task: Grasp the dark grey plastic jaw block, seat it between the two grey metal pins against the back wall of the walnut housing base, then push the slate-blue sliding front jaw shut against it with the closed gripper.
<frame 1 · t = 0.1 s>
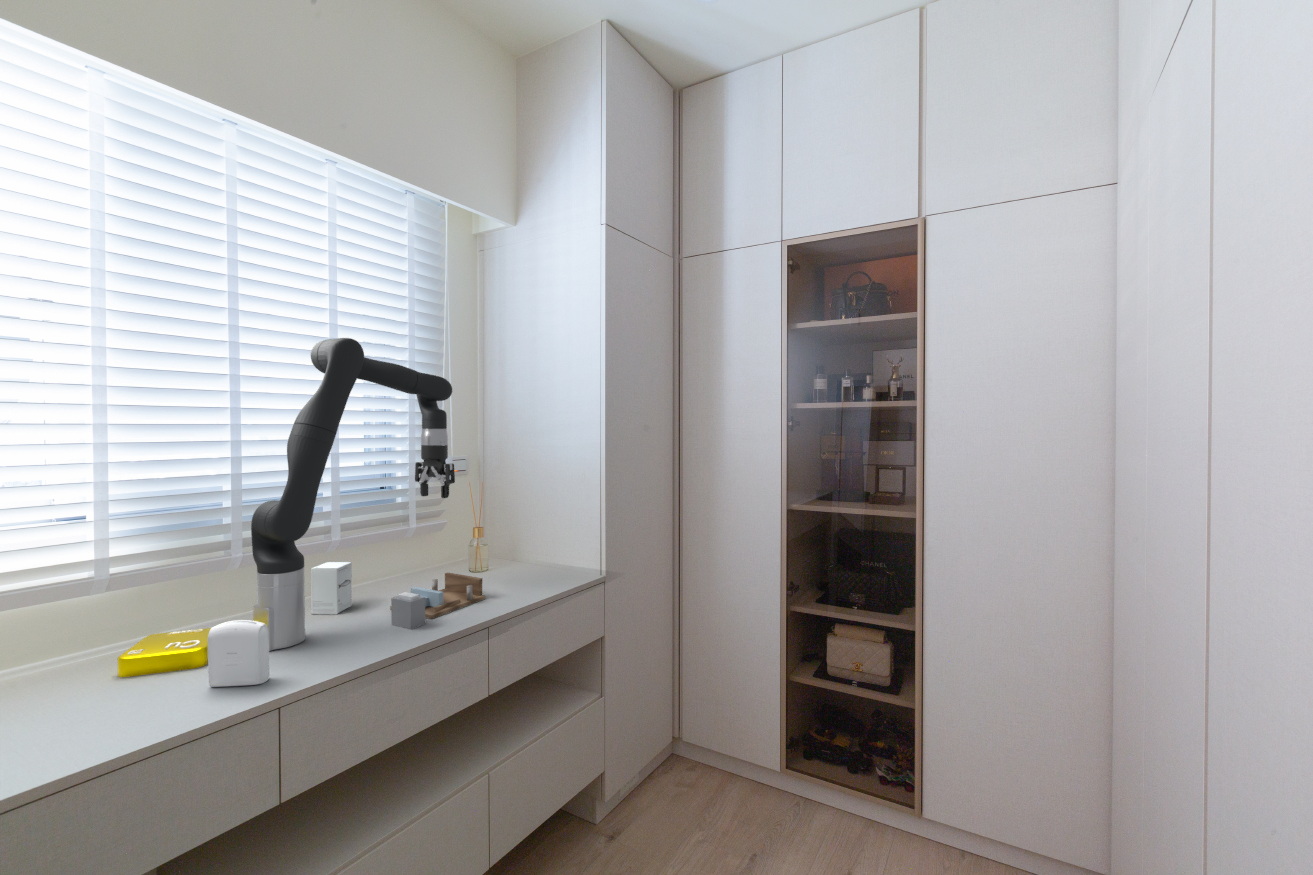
hand: (434, 497, 172), 29 cm above the worktop, fingers open, 8 cm apart
housing: (441, 603, 162), on the worktop
element tile: (175, 661, 123), on the worktop
photo printer: (239, 683, 112), on the worktop
jaw block: (408, 624, 145), on the worktop
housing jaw: (420, 599, 155), point 3 cm above the worktop, slide at 0.0 cm
supplement box: (331, 610, 156), on the worktop
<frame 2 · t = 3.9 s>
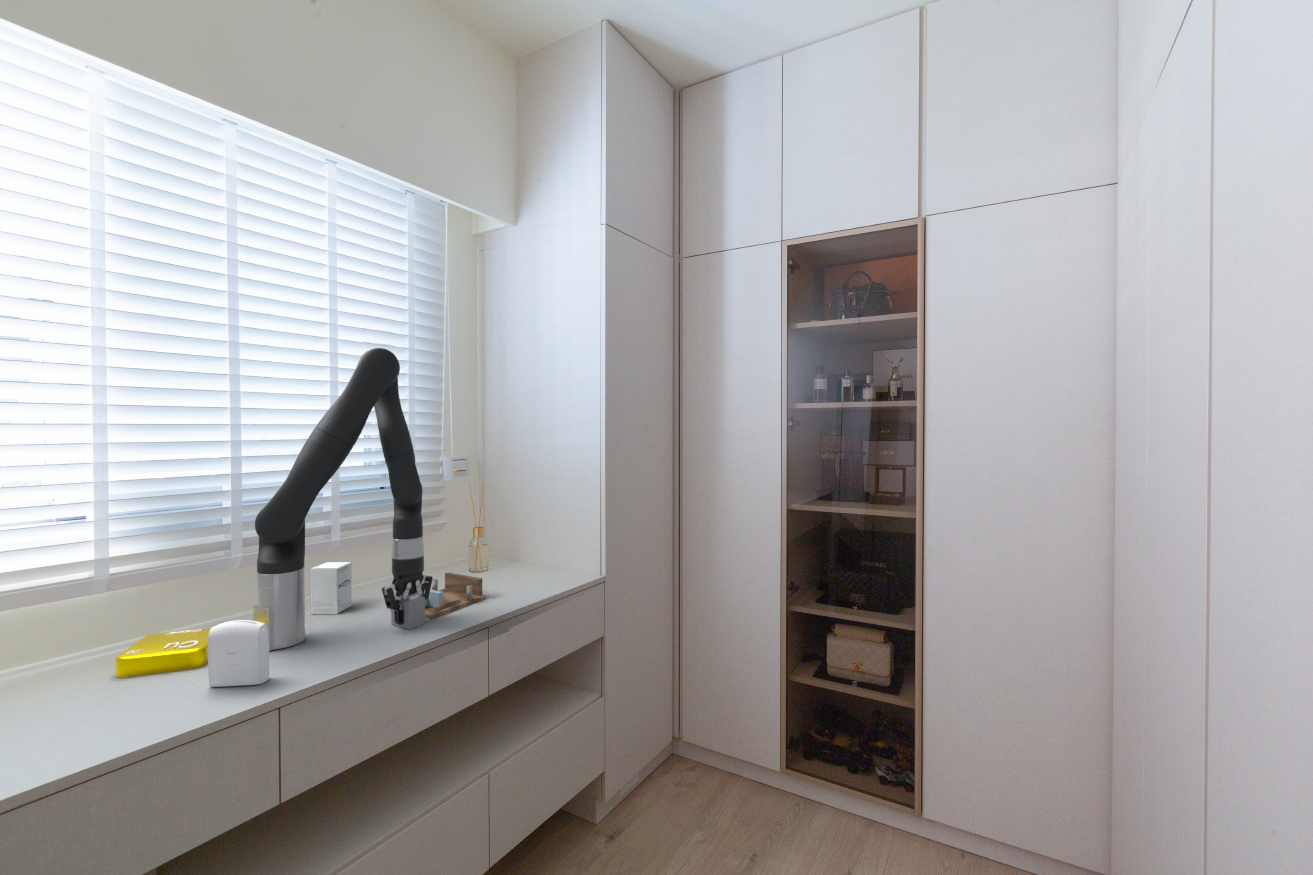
hand: (408, 620, 145), 1 cm above the worktop, fingers closed on jaw block, 4 cm apart
jaw block: (408, 624, 145), on the worktop, touching gripper
everything else where it was.
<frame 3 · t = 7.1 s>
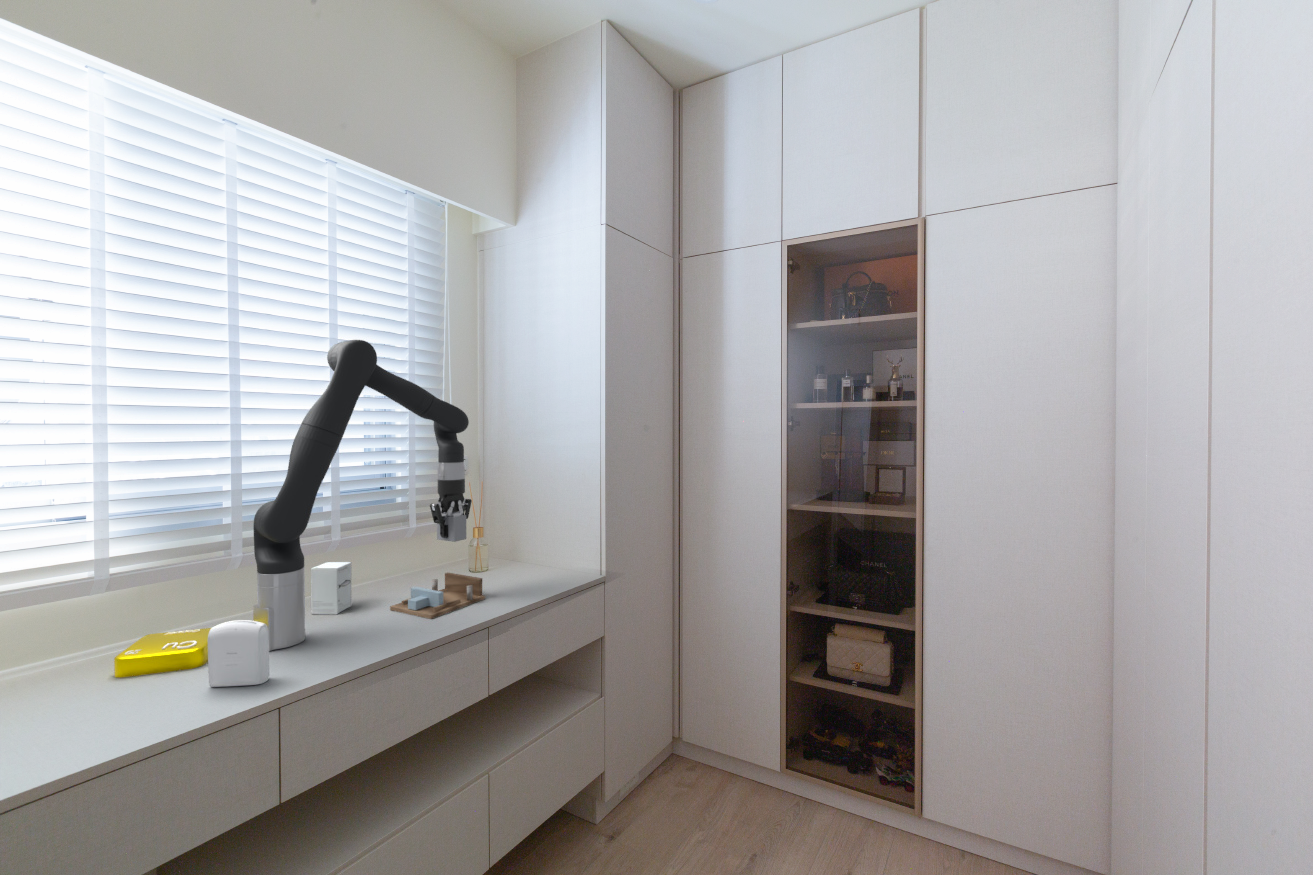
hand: (451, 535, 165), 19 cm above the worktop, fingers closed on jaw block, 4 cm apart
jaw block: (451, 539, 165), point 18 cm above the worktop, touching gripper
everything else where it was.
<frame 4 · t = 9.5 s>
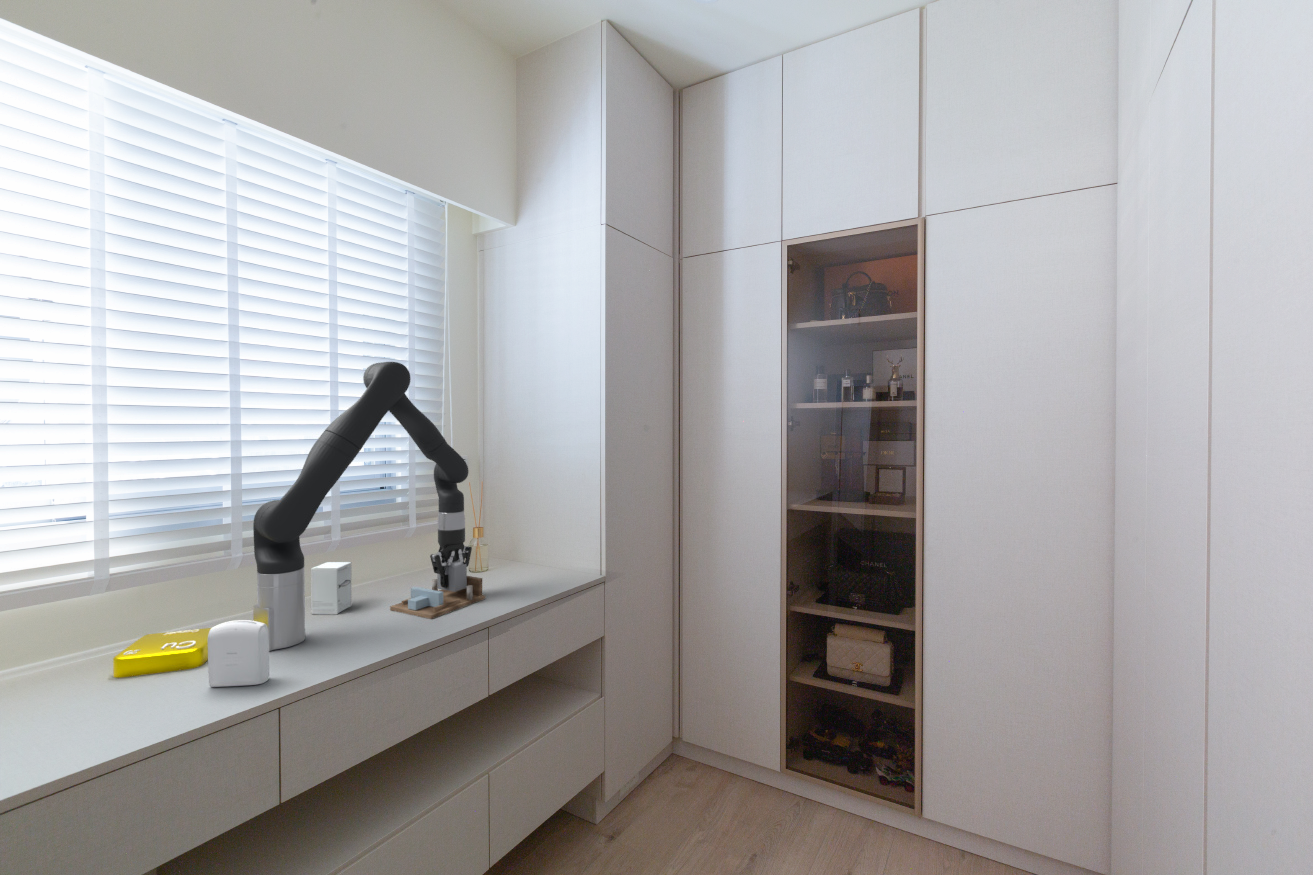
hand: (451, 584, 165), 4 cm above the worktop, fingers closed on jaw block, 4 cm apart
jaw block: (452, 588, 165), point 3 cm above the worktop, touching gripper
everything else where it was.
when the fingers open (4 cm above the worktop, at t = 10.3 s): jaw block drops 2 cm, resting on housing.
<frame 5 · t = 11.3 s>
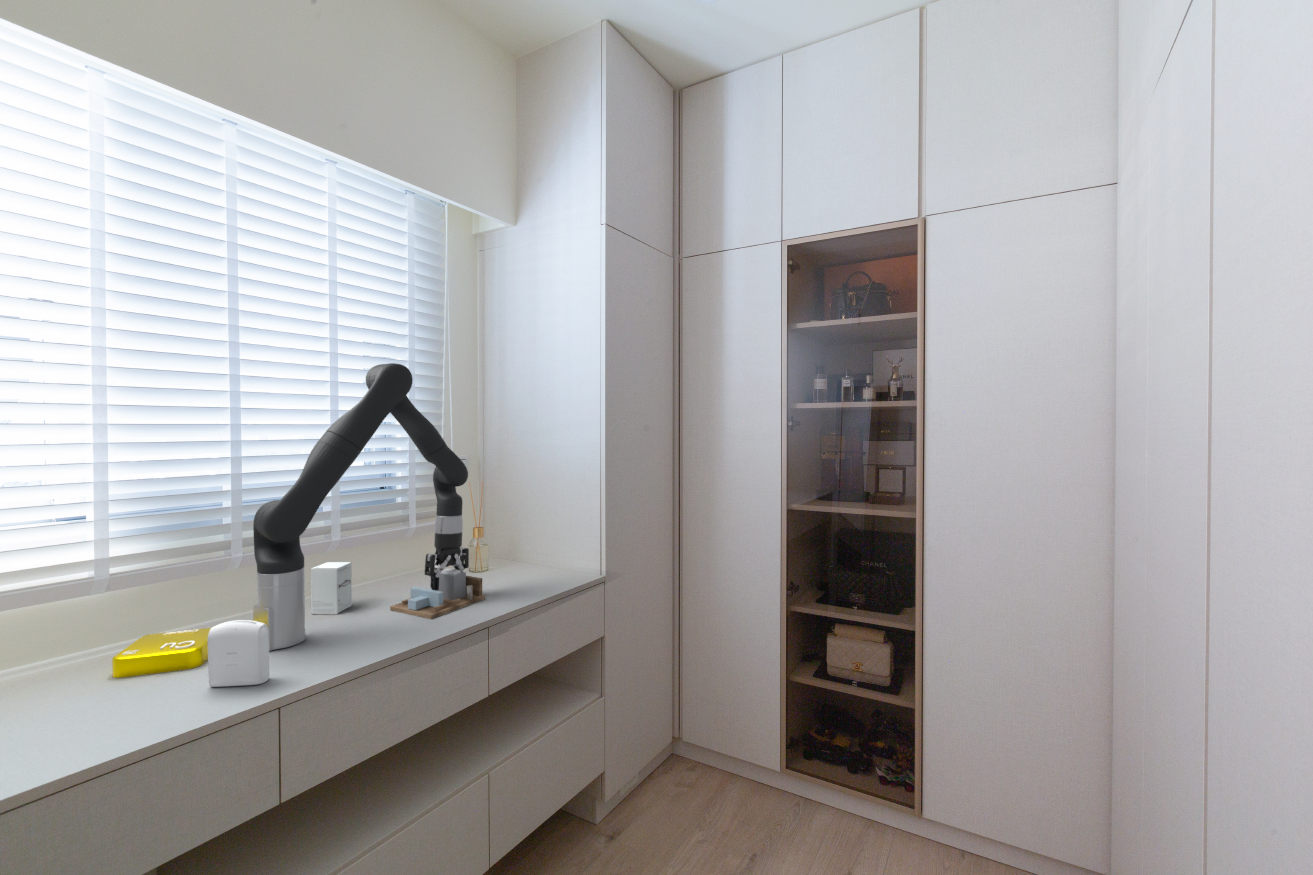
hand: (446, 586, 164), 4 cm above the worktop, fingers open, 8 cm apart
jaw block: (451, 596, 165), point 1 cm above the worktop, touching gripper, housing
everything else where it was.
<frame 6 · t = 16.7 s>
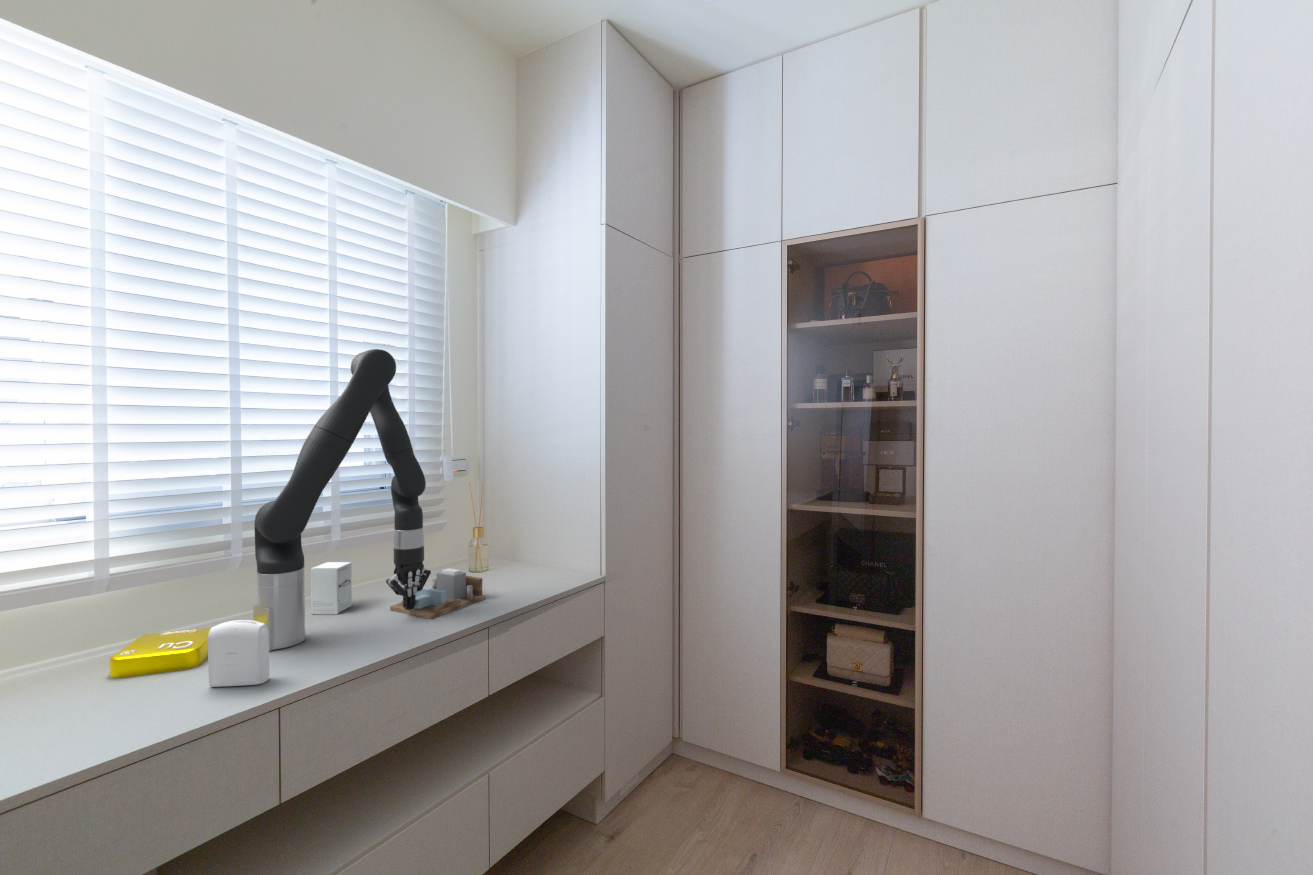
hand: (409, 608, 152), 2 cm above the worktop, fingers closed
jaw block: (451, 596, 165), point 1 cm above the worktop, touching housing
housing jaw: (423, 598, 156), point 3 cm above the worktop, slide at 0.9 cm, touching gripper
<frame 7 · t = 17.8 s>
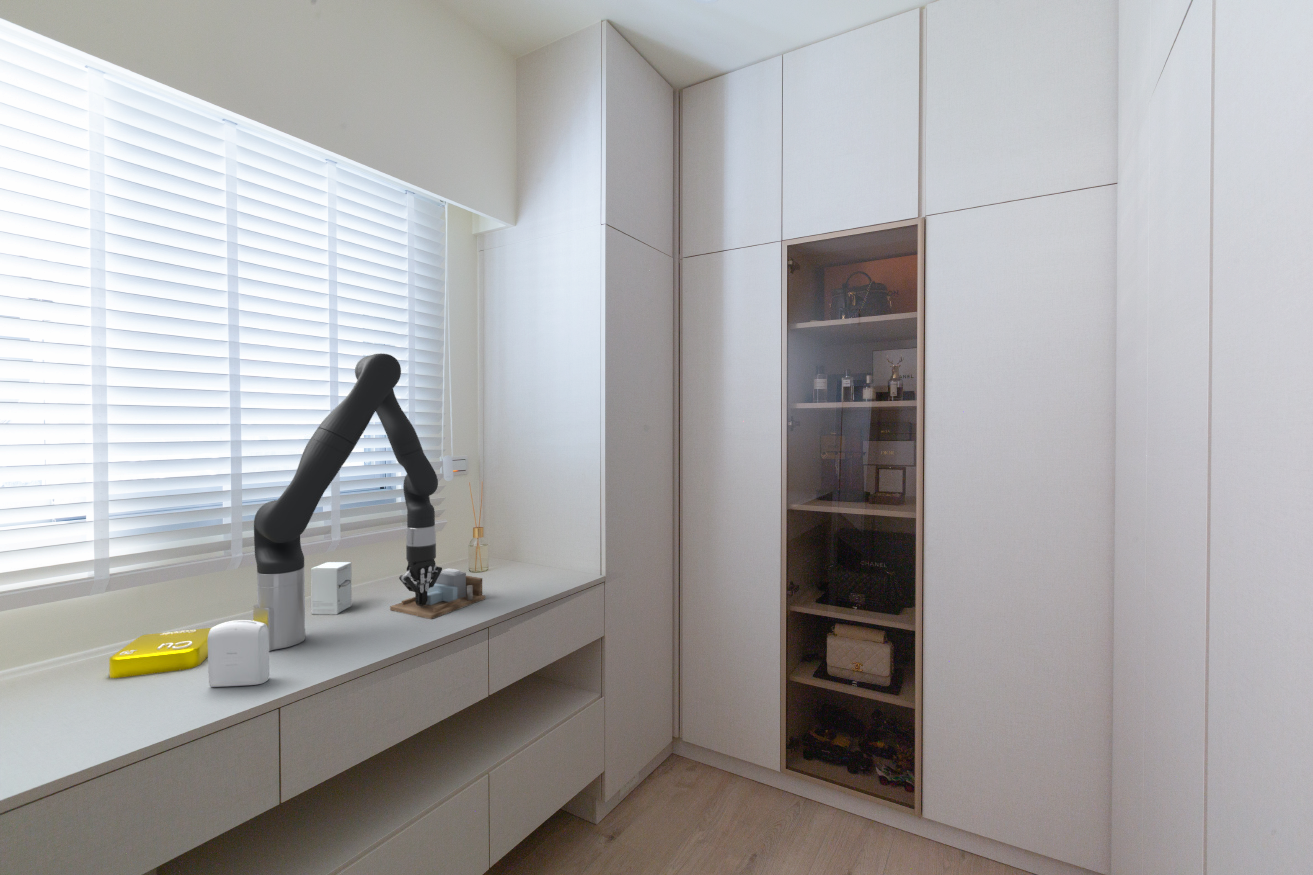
hand: (421, 604, 156), 2 cm above the worktop, fingers closed
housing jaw: (435, 594, 160), point 3 cm above the worktop, slide at 5.0 cm, touching gripper
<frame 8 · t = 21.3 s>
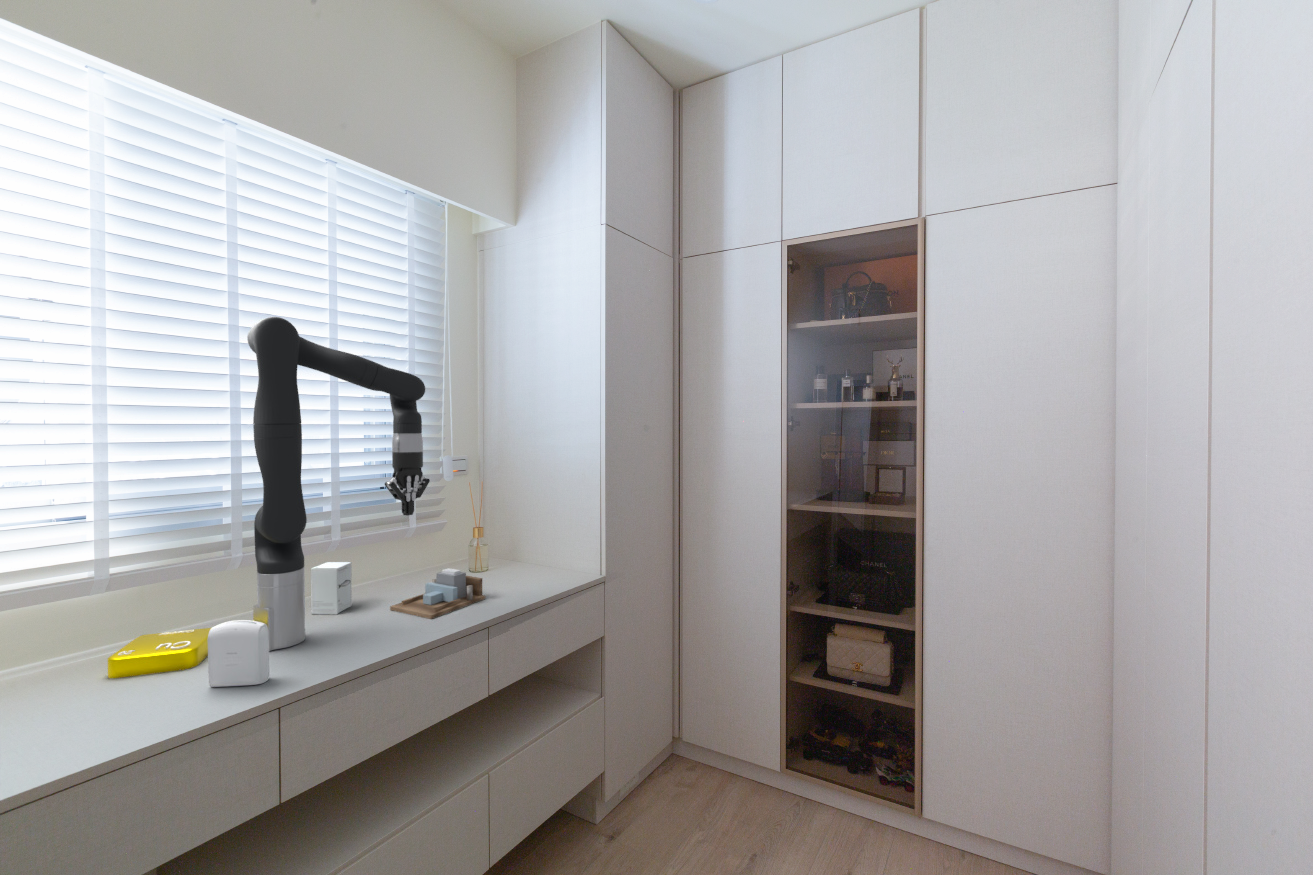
hand: (408, 514, 151), 27 cm above the worktop, fingers closed
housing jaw: (435, 594, 160), point 3 cm above the worktop, slide at 5.0 cm
at the end: jaw block 0.7 cm from the target spot on the housing, point 1.0 cm above the housing's base; jaw block tilted 0°; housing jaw slide at 5.0 cm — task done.
